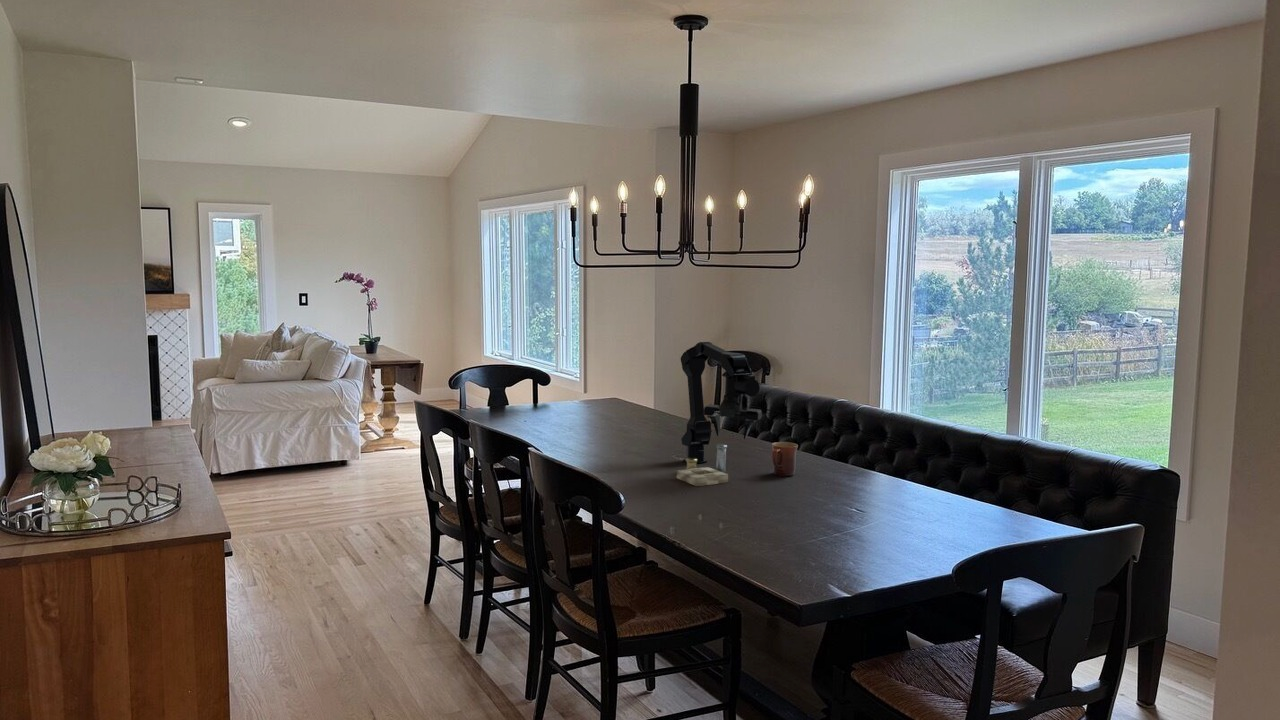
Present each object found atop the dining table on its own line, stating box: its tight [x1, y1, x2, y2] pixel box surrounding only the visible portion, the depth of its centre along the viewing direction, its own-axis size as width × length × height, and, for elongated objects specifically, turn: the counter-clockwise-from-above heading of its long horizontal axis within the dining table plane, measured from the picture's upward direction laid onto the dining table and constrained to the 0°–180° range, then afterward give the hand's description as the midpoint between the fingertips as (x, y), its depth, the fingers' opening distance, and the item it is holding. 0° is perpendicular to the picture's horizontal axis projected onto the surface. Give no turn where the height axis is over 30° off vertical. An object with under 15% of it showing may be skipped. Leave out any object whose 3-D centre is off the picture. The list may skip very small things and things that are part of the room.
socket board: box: [676, 466, 729, 487], centre depth 285 cm, size 12×12×3 cm
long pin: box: [715, 443, 728, 473], centre depth 298 cm, size 4×4×9 cm
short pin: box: [685, 457, 697, 469], centre depth 296 cm, size 4×4×5 cm
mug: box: [771, 441, 799, 477], centre depth 293 cm, size 12×9×10 cm
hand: (731, 437), depth 292 cm, fingers open, 9 cm apart
